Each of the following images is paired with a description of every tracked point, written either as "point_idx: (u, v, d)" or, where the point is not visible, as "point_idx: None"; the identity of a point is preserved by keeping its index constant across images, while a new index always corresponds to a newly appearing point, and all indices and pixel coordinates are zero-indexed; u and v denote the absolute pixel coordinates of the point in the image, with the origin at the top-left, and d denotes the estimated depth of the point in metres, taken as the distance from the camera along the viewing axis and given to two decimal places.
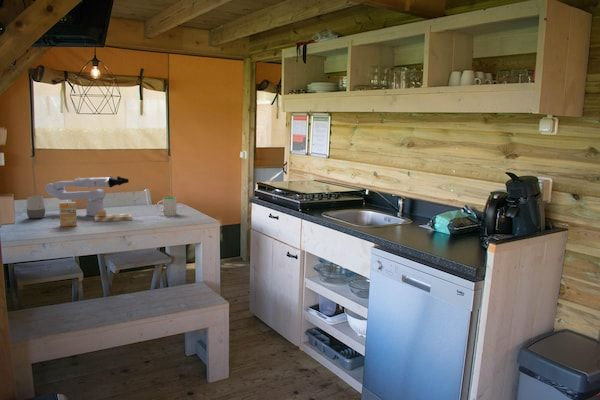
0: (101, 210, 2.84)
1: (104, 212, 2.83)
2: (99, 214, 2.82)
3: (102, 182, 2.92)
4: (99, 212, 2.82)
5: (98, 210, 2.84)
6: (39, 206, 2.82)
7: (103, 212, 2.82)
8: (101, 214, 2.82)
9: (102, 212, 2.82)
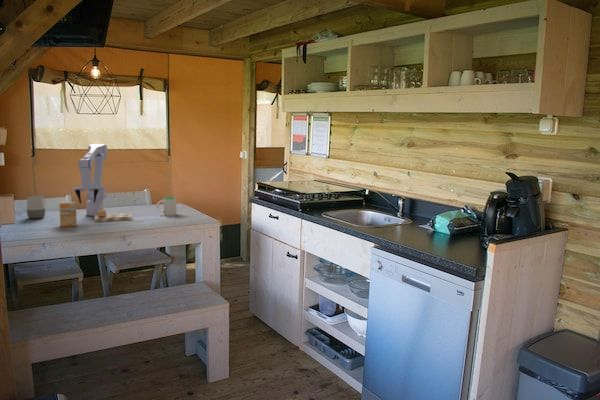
0: (101, 210, 2.84)
1: (104, 212, 2.83)
2: (99, 214, 2.82)
3: (81, 180, 2.77)
4: (99, 212, 2.82)
5: (98, 210, 2.84)
6: (39, 206, 2.82)
7: (103, 212, 2.82)
8: (101, 214, 2.82)
9: (102, 212, 2.82)
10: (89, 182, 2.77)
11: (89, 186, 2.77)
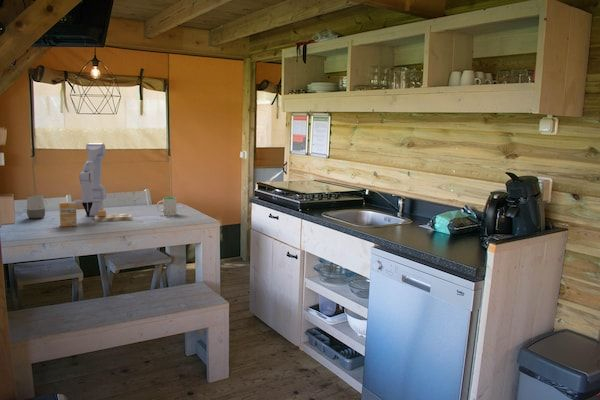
0: (101, 210, 2.84)
1: (104, 212, 2.83)
2: (99, 214, 2.82)
3: None
4: (99, 212, 2.82)
5: (98, 210, 2.84)
6: (39, 206, 2.82)
7: (103, 212, 2.82)
8: (101, 214, 2.82)
9: (102, 212, 2.82)
10: (90, 195, 2.78)
11: (90, 199, 2.78)
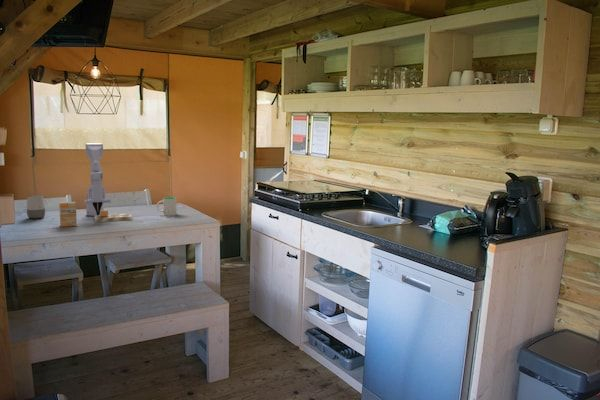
0: (103, 210, 2.85)
1: (106, 212, 2.83)
2: (101, 214, 2.82)
3: (91, 193, 2.80)
4: (101, 212, 2.82)
5: None
6: (39, 206, 2.82)
7: (105, 212, 2.83)
8: (103, 214, 2.83)
9: (104, 212, 2.83)
10: (100, 195, 2.80)
11: (100, 199, 2.80)
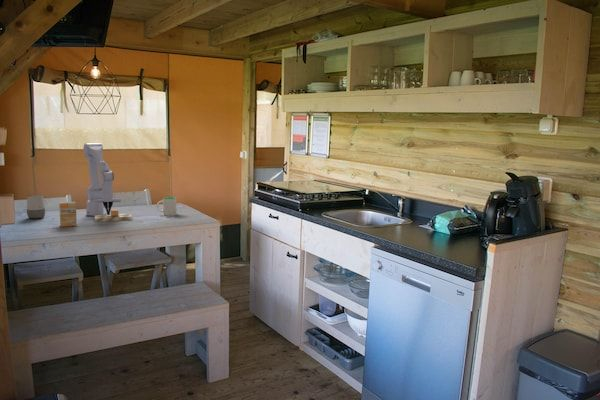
0: (114, 209, 2.87)
1: (117, 211, 2.85)
2: (112, 213, 2.84)
3: (102, 192, 2.82)
4: (112, 211, 2.84)
5: None
6: (39, 206, 2.82)
7: (116, 211, 2.85)
8: (114, 213, 2.85)
9: (115, 211, 2.85)
10: (110, 195, 2.82)
11: (110, 198, 2.82)
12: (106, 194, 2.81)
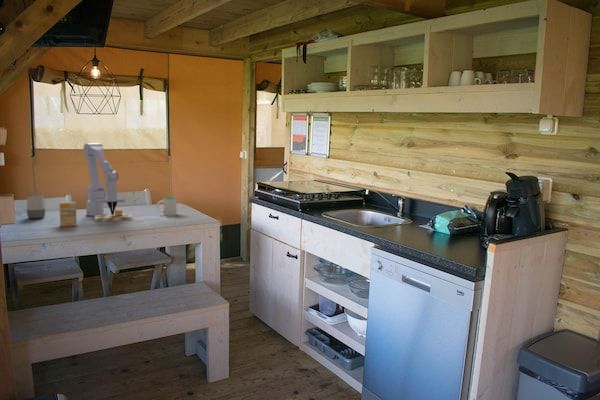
0: (118, 209, 2.88)
1: (121, 211, 2.86)
2: (116, 213, 2.85)
3: None
4: (116, 211, 2.85)
5: (115, 209, 2.88)
6: (39, 206, 2.82)
7: (120, 211, 2.86)
8: (118, 213, 2.86)
9: (119, 211, 2.86)
10: (115, 195, 2.83)
11: (114, 198, 2.83)
12: (110, 194, 2.82)
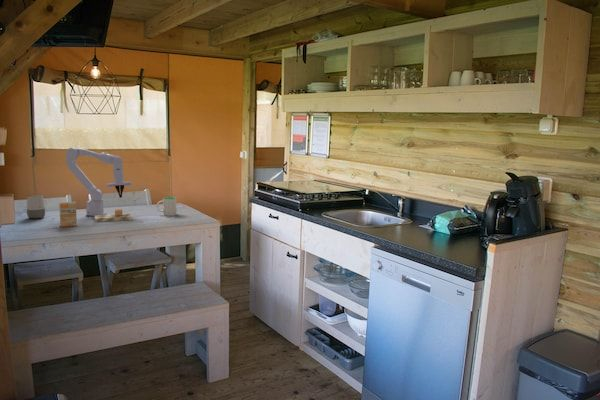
0: (118, 209, 2.88)
1: (121, 211, 2.86)
2: (116, 213, 2.85)
3: None
4: (116, 211, 2.85)
5: (115, 209, 2.88)
6: (39, 206, 2.82)
7: (120, 211, 2.86)
8: (118, 213, 2.86)
9: (119, 211, 2.86)
10: (121, 178, 2.99)
11: (121, 182, 2.99)
12: (117, 178, 2.97)
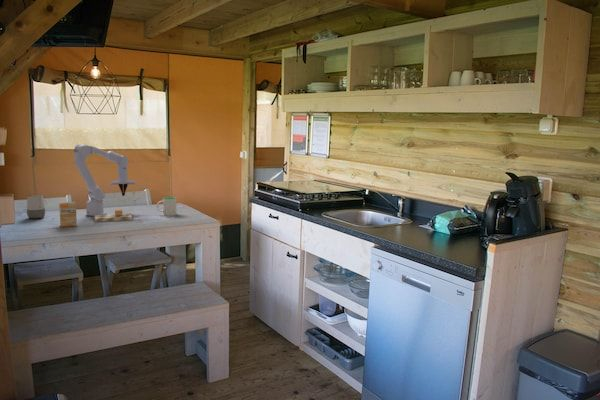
0: (118, 209, 2.88)
1: (121, 211, 2.86)
2: (116, 213, 2.85)
3: (118, 175, 3.06)
4: (116, 211, 2.85)
5: (115, 209, 2.88)
6: (39, 206, 2.82)
7: (120, 211, 2.86)
8: (118, 213, 2.86)
9: (119, 211, 2.86)
10: (125, 177, 3.06)
11: (125, 180, 3.07)
12: (121, 176, 3.05)
